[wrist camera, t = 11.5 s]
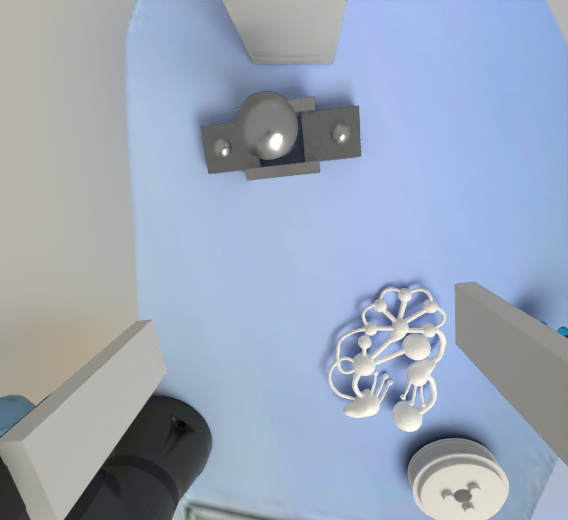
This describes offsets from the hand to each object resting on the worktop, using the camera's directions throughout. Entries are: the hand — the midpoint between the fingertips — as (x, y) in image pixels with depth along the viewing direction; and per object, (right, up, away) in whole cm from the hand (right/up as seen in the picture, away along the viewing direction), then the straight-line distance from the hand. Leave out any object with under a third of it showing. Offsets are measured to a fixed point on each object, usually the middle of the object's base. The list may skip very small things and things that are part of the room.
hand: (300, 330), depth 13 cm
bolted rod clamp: (-1, +16, +22) cm, 27 cm away
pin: (-1, +17, +22) cm, 27 cm away
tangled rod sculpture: (+13, -10, +29) cm, 33 cm away
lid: (+24, -28, +33) cm, 49 cm away
